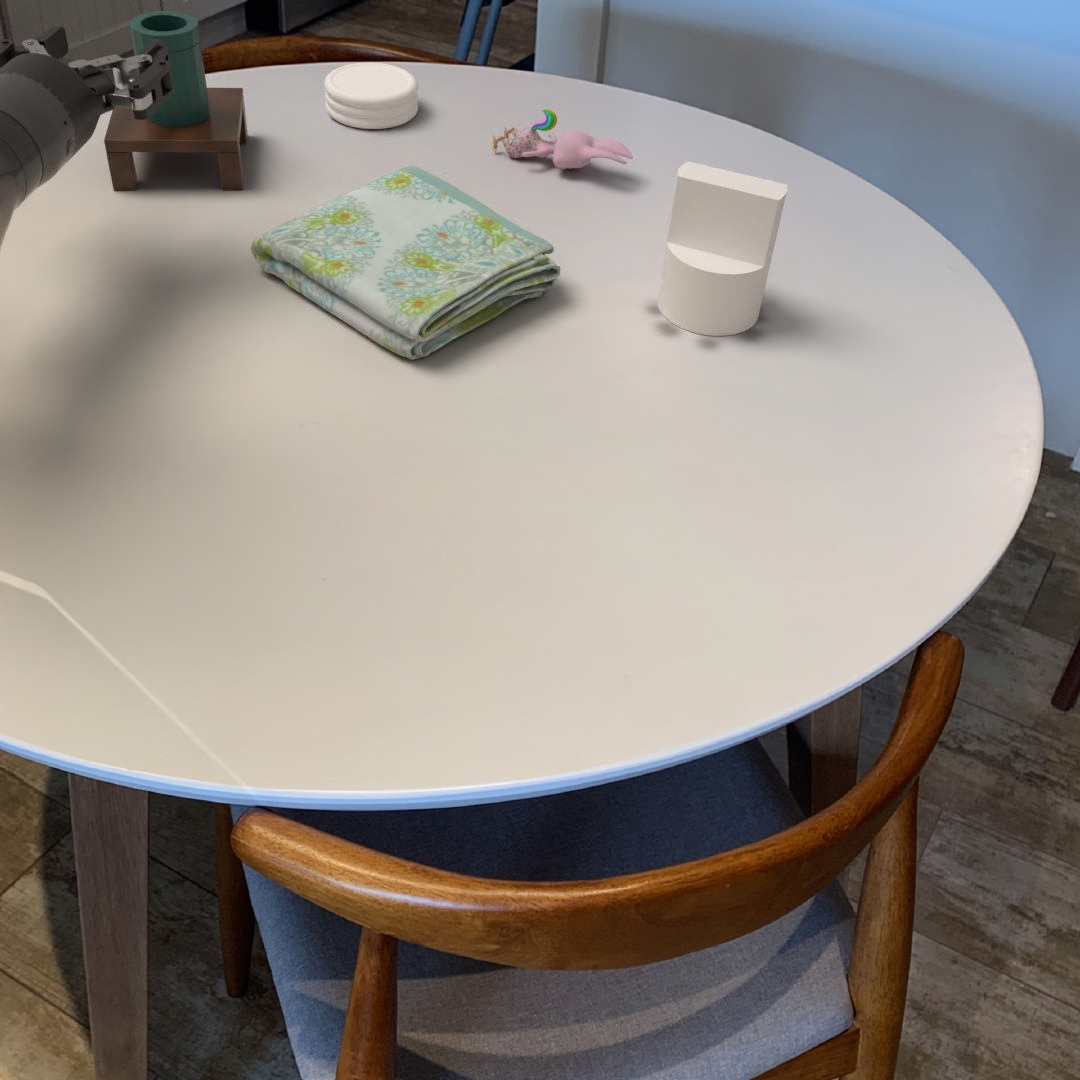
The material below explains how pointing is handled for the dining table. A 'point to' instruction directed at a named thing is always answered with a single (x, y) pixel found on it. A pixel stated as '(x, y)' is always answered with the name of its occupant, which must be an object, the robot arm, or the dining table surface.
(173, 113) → the jar
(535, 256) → the towel
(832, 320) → the dining table surface
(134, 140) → the stand
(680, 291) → the base with upright slab
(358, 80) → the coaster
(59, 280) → the dining table surface
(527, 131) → the rabbit figure
